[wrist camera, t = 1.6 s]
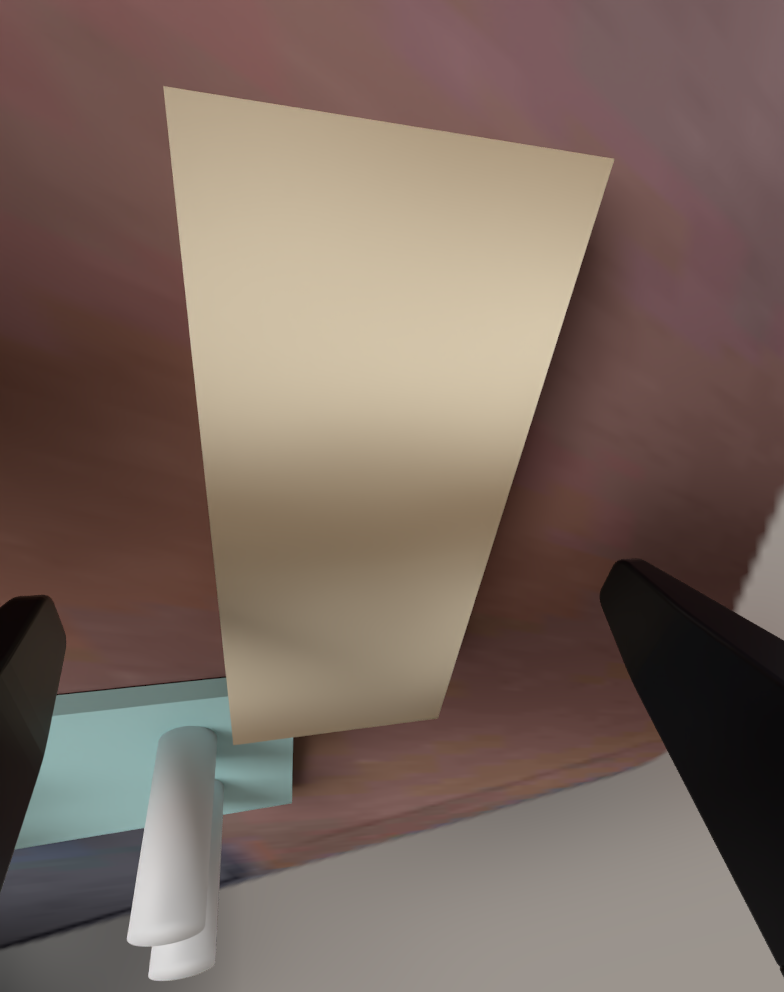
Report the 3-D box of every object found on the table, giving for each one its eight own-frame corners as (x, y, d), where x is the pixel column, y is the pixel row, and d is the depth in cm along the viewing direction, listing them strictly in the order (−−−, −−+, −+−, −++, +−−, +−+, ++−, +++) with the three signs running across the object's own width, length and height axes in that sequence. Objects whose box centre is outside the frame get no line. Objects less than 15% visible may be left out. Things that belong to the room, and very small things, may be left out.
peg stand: (-178, 860, 15) (-328, 1114, 11) (-341, 736, 11) (-658, 1063, 7) (290, 785, 19) (299, 962, 15) (292, 670, 15) (305, 871, 11)
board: (410, 625, 15) (437, 718, 13) (237, 640, 14) (233, 745, 12) (515, 147, 8) (614, 159, 6) (195, 97, 7) (163, 86, 5)
